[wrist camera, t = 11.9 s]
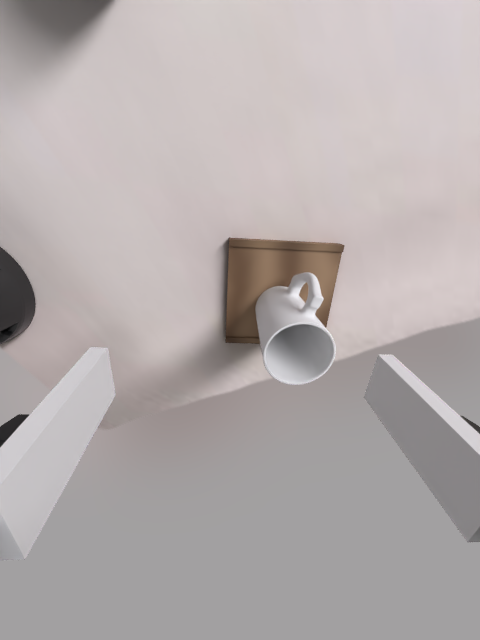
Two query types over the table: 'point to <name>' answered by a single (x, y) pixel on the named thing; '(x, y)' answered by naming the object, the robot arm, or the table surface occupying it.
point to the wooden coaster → (274, 278)
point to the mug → (294, 332)
